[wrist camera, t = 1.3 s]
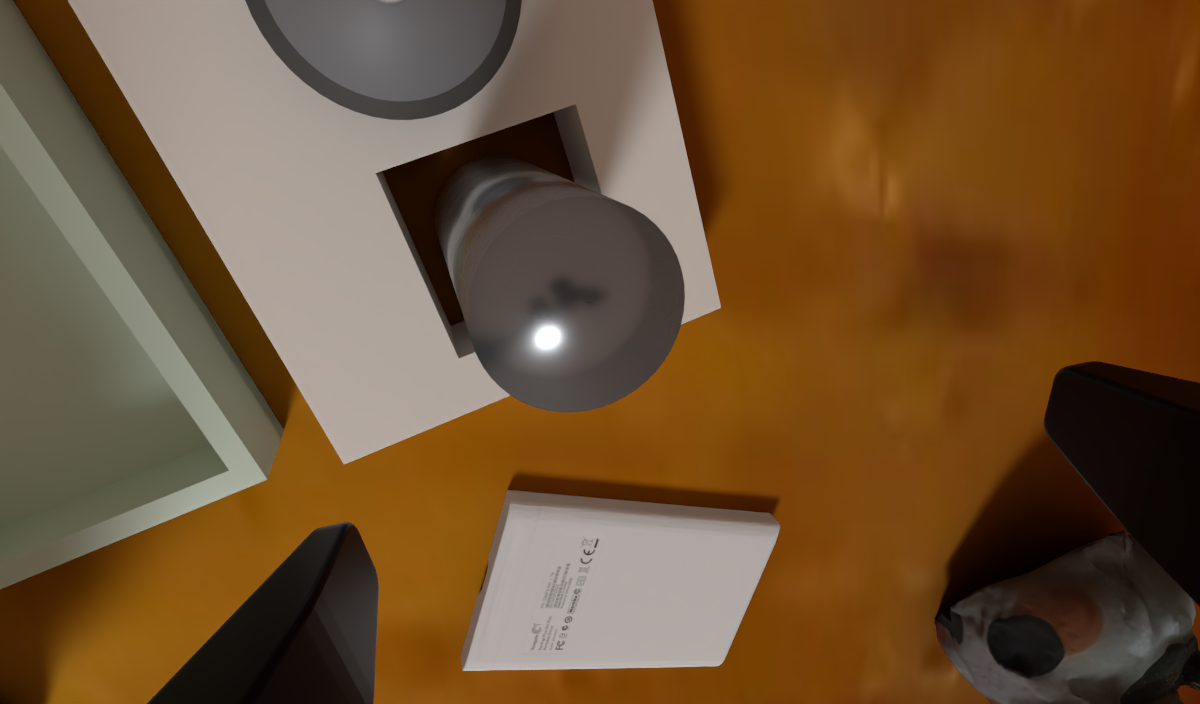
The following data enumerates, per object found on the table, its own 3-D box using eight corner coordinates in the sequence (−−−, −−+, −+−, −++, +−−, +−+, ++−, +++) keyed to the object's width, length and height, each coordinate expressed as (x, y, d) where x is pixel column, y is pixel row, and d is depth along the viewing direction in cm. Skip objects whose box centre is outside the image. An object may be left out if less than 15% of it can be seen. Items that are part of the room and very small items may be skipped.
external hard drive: (705, 643, 31) (458, 646, 26) (763, 505, 29) (504, 481, 24) (720, 670, 30) (462, 678, 25) (783, 526, 27) (511, 505, 23)
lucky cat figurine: (1143, 536, 38) (1364, 807, 30) (957, 609, 43) (1100, 858, 35) (1120, 495, 28) (1442, 887, 20) (881, 597, 33) (1056, 942, 25)
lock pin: (463, 297, 20) (515, 444, 12) (413, 179, 19) (429, 245, 10) (574, 254, 21) (705, 363, 12) (536, 136, 19) (655, 162, 10)
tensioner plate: (350, 418, 21) (336, 512, 16) (81, -58, 15) (-72, -138, 10) (682, 283, 23) (759, 331, 18) (566, -188, 17) (635, -307, 12)
